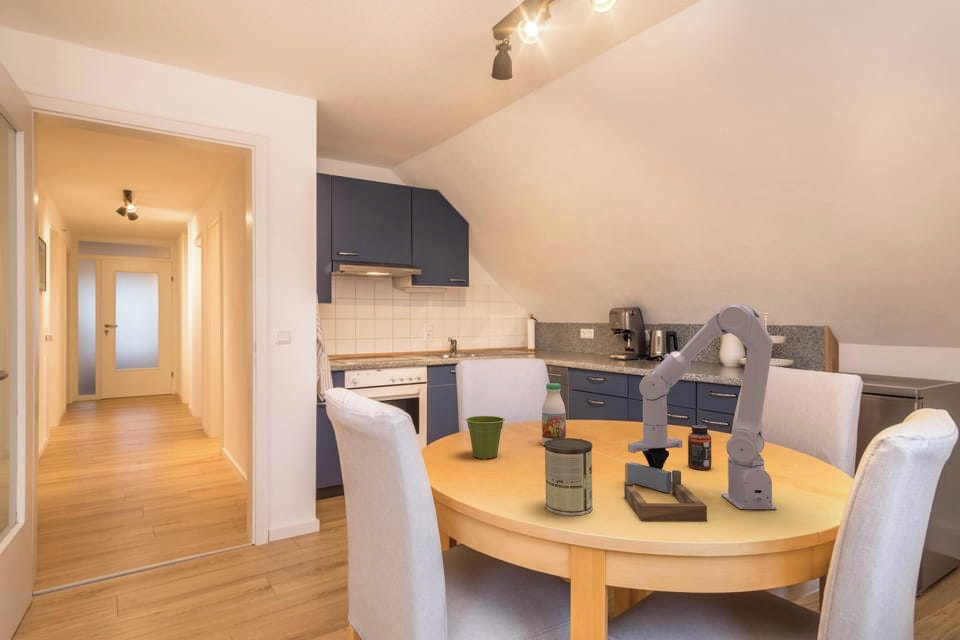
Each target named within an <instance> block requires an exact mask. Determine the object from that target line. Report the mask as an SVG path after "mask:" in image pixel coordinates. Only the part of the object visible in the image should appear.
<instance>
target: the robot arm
mask: <svg viewBox="0 0 960 640" xmlns="http://www.w3.org/2000/svg"><path fill="white" fill-rule="evenodd" d="M729 334H731V335H733V336H735V337H736V338H737V339H738V340H739V342H741V343H742V344H743V346H745V347H746V357H745V361H744V362H745V363H744V370H743V376H742V384H741V390H740V396H739V405H738V411H737V418H736V421H735V424H734V427H733V430H732V431H733V432H732V435H731V437H730V438H729V439H728V440H727V443H726V446H725V447H726V452H727V455H728V457H727V481H728V482H727V484H728V485H727V486H728V487H727V490H728V492H721V493H720V495H721V496H722V497H723V498H725V499H726V500H727V501H728V502H730V503H731V504H732V505H733V506H735V508H737V509H739V510H777V506H775V505H774V504H773V483H772V478H771V476H770V474H769V473H768V472H767V470H766V469H765V460H764V459H763V457H762V455H761V454H760V453H762V452H763V450H764V448H765V439H764V436H763V434H762V432H763V422H762V421H763V420H762V419H763V412H764V405H765V399H766V392H767V385H768V379H769V371H770V365H771V358H772V352H773V345H774V344H773V343H774V342H773V339H772V337H771V335H770V333H769V331H768V329H767V327H766V326H765V324H764V322H763V319H762V316H761V315H760V314H759V312H757V311H756V310H755V309H754V308H752V307H751V306H749V305H747V304H738V303H730V304H727V305H725V306H723V307H722V308H721V309H720V311H719V312H717V313H715V314H714V315H713V316H711V317H710V319H709V320H707V321H706V322H705V324H703V326H702V327H701V328H700V329H699V330H698V331H697V332H696V333H695V335H693V337H692V338H691V339H690V340H689V341H688V342H687V343H685V345H684V346H683V347H682V349H680V351H671V352H670V353H665V354H664V356H662V358H663V360H662V361H661V363H659V364H658V365H657V367H655V368H652V369H651V370H650V373H651V374H650V375H649V374H647V375H645V376H643V378H642V379H641V380H640V383H639V385H638V386H639V387H638V388H639V393H640V395H642V439H641V440H638V441H635V442H629V443H627V452H629V453H631V454H636V453H638V452H642V454H643V456H644V457H645V459H646V461H647V465H648V466H650V467H654V468H658V469H662V470H663V468H664V465H665V463H666V461H667V459H668V458H669V456H670V451H669V450H667V449H675V448H678V449H682V448H683V440H682V439H680V438H677V437H676V438H668V404H667V403H668V399H667V395H668V394H669V392H670V391H671V388H672V387H674V385H675V384H677V382H679V381H680V380H681V378H683V377H684V376H685V375H686V374H687V373H688V371H690V370H691V367H692V366H691V363H692V360H693V359H694V358H695V357H696V356H697V355H699V353H700V352H702V351H703V350H704V349H705V348H706V347H708V345H709V344H710V343H712V341H714V340H715V339H716V338H719V337H722V336H726V335H729Z"/></svg>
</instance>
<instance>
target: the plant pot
mask: <svg viewBox="0 0 960 640" xmlns="http://www.w3.org/2000/svg"><path fill="white" fill-rule="evenodd" d="M464 420H465V421H466V423H467V427H468V431H469V436H470V437H469V438H470V442H471V444H470V445H471V450H472V455H473V457H474V458H478V459H480V458H484V459H483V460H487V459H486V458H490V459H492V458H497V457H496V456H498V454H499V453H498V452H499V446H500V440H501V433H502V430H503V425H504V422H505V421H506V418H504V417H500V416H496V415H495V416H493V415H475V416H469V417H466V418H465V419H464Z"/></svg>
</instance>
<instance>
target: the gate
mask: <svg viewBox="0 0 960 640" xmlns="http://www.w3.org/2000/svg"><path fill="white" fill-rule="evenodd" d="M624 482H632V483H633V484H635V485H639V486H642V487H646V488H649V489H652V490H656V491H660V492H662V493H670V492H672V471H669V470H665V469H663V468H662V469H658V468H654V467H650V466H649V465H646V464H643V463H642V464H641V463H637V462H633V461H627V462H624Z"/></svg>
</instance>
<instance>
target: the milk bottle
mask: <svg viewBox="0 0 960 640" xmlns="http://www.w3.org/2000/svg"><path fill="white" fill-rule="evenodd" d="M545 386H546V396H545V398H544V401H543V404H542V407H541V444H542V446H544V445H545V444H544V443H545V442H546V441H548V440H551V439H557V438H567V427H566V425H567V419H566V418H567V417H566V415H567V413H566V406H565V404H564V401H563V399H562V396H561V387H562V386H561V383H558V382H549V383H546V385H545Z"/></svg>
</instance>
